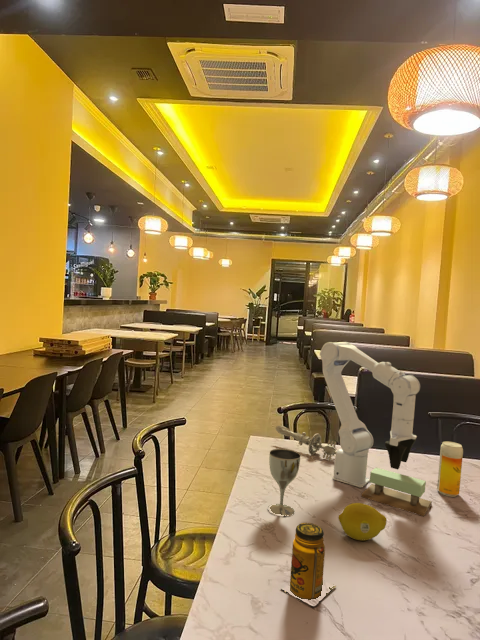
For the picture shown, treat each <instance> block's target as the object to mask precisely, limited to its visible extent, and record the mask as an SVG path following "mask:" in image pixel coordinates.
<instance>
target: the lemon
mask: <svg viewBox="0 0 480 640" xmlns="http://www.w3.org/2000/svg"><path fill="white" fill-rule="evenodd" d="M337 519H338V521H339V523H340V525H341V528H342V530H343V532H344V534H345V535H347V536H348V537H349V538H352V539H354V540H356V541H368V540H371V539H374V538H376V537H377V536H378V535H379V534H380V533H381V532H382V531H383V530H384V529H386V526H387V517H386V516H385V515H384V514H383V513H381V512H380V511H378V510H377V509H376V508H375V507H374V506H371V505H369V504H366V503H364V502H363V503H362V502H352V503H349V504H347V505H346V506H345V507H344V508H343V510H342V512H341V513H340V514H338V517H337Z"/></svg>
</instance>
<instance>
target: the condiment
mask: <svg viewBox="0 0 480 640" xmlns="http://www.w3.org/2000/svg"><path fill="white" fill-rule="evenodd" d="M324 536H325V531H324V530H323V528H322V526H319V525H318V524H315V523H313V522H301V523H299V524H298V525H297V526H296V528H295V533H294V538H293V542H292V549H291V552H292V553H291V566H290V577H289V579H290V580H289V582H290V591H291V592H292V593H293V594H294V595H295V596H297V597H299V598H301V599H308V600H311V599H316V598H318V597H319V596H321V591H322V585H323V580H324V569H325V557H326V556H325V555H326V552H325V551H326V545H325V540H324ZM336 587H337V585H335V586H333V587H332V588H333V590H334V589H335V588H336ZM332 588H330V587H329V589H330V590H332ZM333 590H332V591H333ZM284 592H285V593H286V591H284ZM326 595H327V596H328V595H330V593H326Z"/></svg>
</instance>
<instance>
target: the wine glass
mask: <svg viewBox="0 0 480 640" xmlns="http://www.w3.org/2000/svg"><path fill="white" fill-rule="evenodd" d="M268 455H269V458H268V459H269V462H268V463H269V464H268V465H269V471H270V475H271V476H272V478H273V480H274V481H275V482H276V484H277V485H278V487H279V494H280V495H279V496H280V497H279V499H280V500H279V503H275V504H276V505H272V504H271V505H272V506H271V507H270V509H271V511H272V512H273V513H275V514H281V515H284V516H285V515H286V516H287V515H289V517H291V516H290V515H292V514H293V515H295V513H296V512H295V511H296V510H294V508H293V507H292V506H289V505H288V504H284V496H285V493H286V488H287V487H288V486H289V484H291V483H292V482H293V481H294V480H295V479H296V477H297V475H298V474H299V473H298V472H299V470H300V463H301V454H300V452H298V451H296V450H294V449H288V448H274V449H271V450H269V454H268ZM283 504H284V505H283ZM287 505H288V506H287ZM291 507H292V508H291ZM294 512H295V513H294ZM293 515H292V516H293Z"/></svg>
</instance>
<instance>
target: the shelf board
mask: <svg viewBox="0 0 480 640" xmlns="http://www.w3.org/2000/svg"><path fill="white" fill-rule="evenodd" d="M369 479H370V481H369V483H370V484H374V485H375V484H377V485H381V486H384V487H385V488H388V489H391V490H395V491H398V492H401V493H405V494H408V495H414V496H418V497H420V498H421V497H422V496H423V494H424V493H425V492H426V482H427V481H426V480H423V479H420V478H416V477H413V476H409V475H405V474H402V473H399V472H394V471H391V470H387V469H383V468H380V467H375V468H373V470H371V471H370V473H369Z"/></svg>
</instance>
